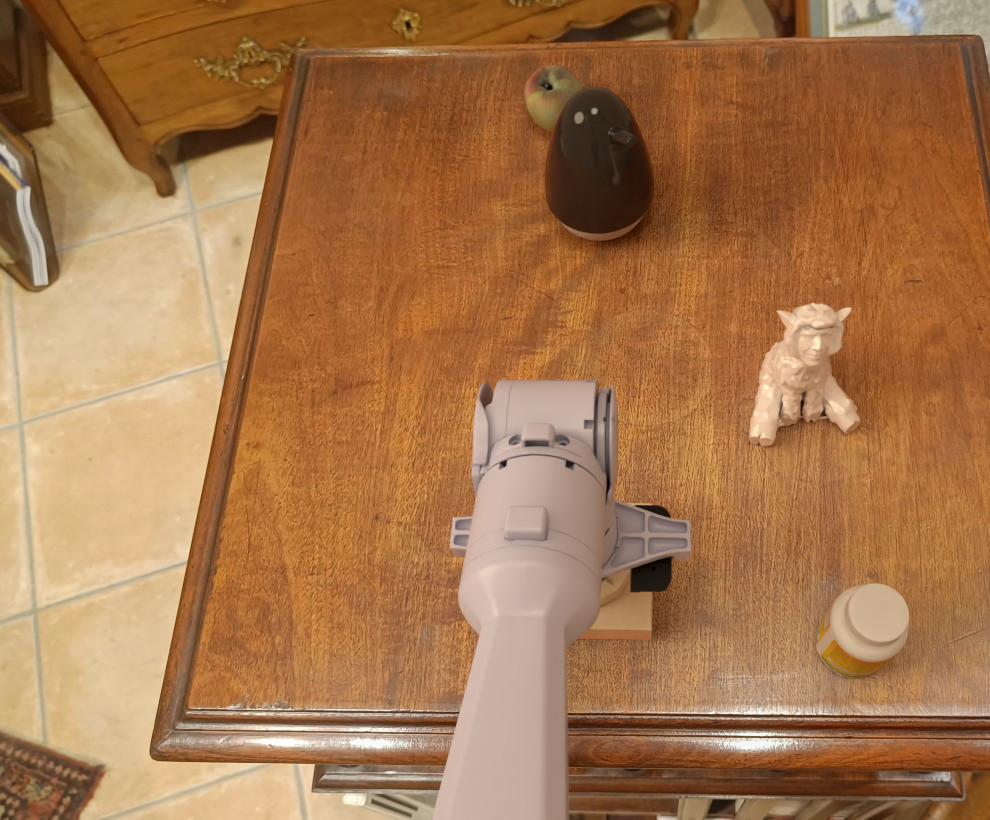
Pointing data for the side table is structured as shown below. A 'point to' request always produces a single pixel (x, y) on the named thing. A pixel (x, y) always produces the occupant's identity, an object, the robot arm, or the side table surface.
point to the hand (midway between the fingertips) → (580, 577)
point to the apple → (549, 93)
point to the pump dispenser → (598, 167)
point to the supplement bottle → (863, 630)
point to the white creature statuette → (802, 375)
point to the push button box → (622, 610)
